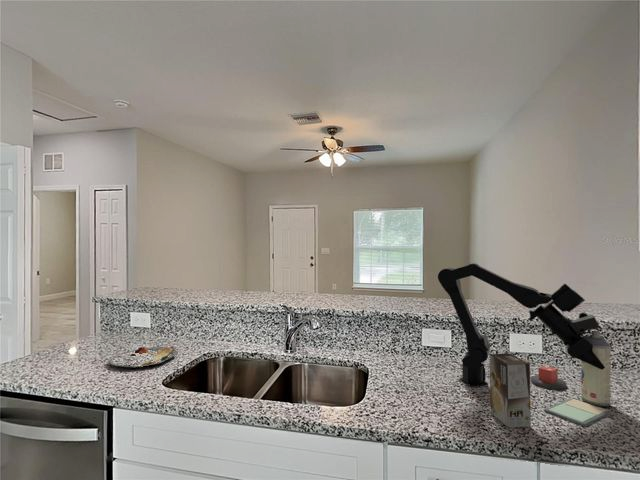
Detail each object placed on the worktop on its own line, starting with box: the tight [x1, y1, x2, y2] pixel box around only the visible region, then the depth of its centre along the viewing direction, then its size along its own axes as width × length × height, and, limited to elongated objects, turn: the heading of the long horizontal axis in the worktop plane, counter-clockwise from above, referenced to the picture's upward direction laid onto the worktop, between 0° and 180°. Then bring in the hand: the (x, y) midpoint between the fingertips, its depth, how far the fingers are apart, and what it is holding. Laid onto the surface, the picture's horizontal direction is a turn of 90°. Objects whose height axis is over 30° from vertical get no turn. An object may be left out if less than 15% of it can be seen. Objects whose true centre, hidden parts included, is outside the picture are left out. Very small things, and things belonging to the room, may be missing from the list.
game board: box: [544, 398, 612, 428], centre depth 102 cm, size 14×10×1 cm
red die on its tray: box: [530, 365, 567, 391], centre depth 123 cm, size 10×10×5 cm
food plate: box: [108, 346, 179, 368], centre depth 151 cm, size 25×23×4 cm
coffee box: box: [488, 353, 532, 429], centre depth 99 cm, size 9×6×16 cm
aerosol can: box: [580, 330, 612, 407], centre depth 108 cm, size 7×7×20 cm
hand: (601, 364), depth 107 cm, fingers closed on aerosol can, 7 cm apart
